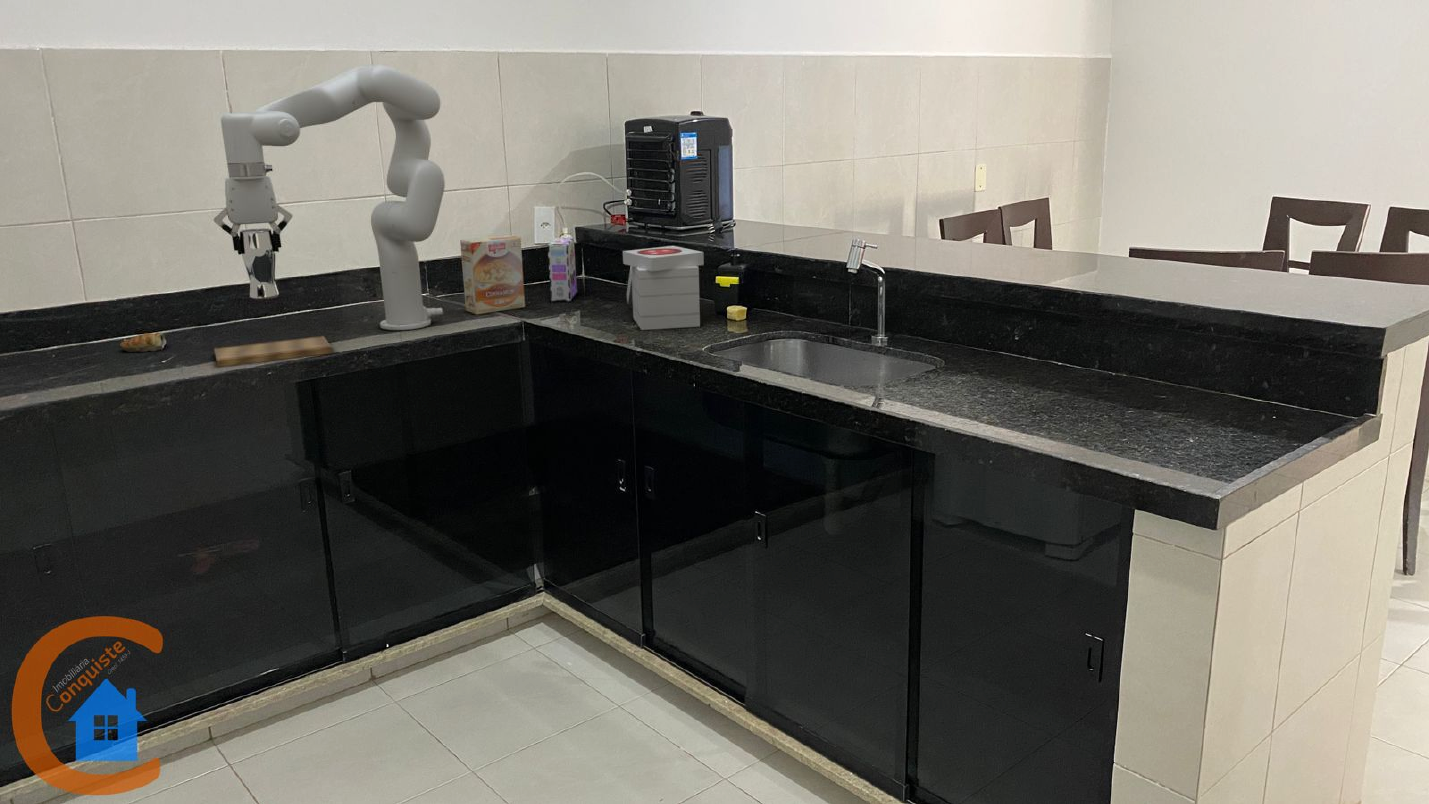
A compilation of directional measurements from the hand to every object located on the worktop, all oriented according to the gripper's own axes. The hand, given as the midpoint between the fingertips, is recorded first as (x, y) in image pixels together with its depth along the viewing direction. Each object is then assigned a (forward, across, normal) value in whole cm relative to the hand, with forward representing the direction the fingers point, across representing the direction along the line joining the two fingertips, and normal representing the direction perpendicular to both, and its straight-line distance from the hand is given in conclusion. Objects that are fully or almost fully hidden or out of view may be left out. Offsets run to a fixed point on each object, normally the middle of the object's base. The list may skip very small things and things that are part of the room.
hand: (258, 251), depth 229 cm
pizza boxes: (+23, -93, +12) cm, 97 cm away
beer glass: (+10, 0, 0) cm, 10 cm away
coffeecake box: (+23, -59, -23) cm, 68 cm away
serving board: (+24, 0, 0) cm, 24 cm away
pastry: (+24, +26, -22) cm, 41 cm away
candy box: (+23, -81, -29) cm, 89 cm away
